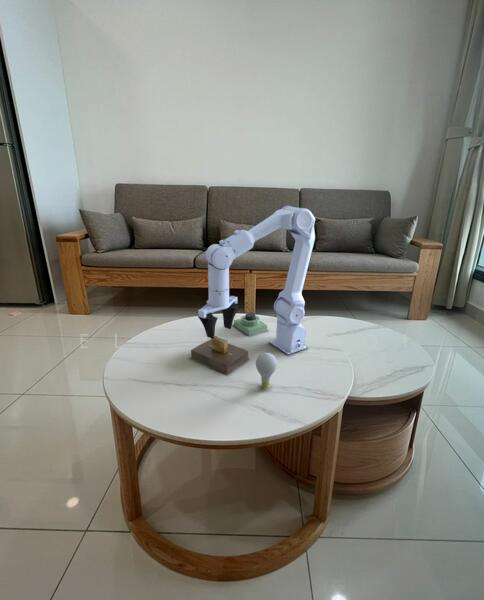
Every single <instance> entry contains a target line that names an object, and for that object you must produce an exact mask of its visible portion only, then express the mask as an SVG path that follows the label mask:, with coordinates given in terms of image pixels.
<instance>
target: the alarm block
mask: <svg viewBox="0 0 484 600" xmlns="http://www.w3.org/2000/svg"><path fill="white" fill-rule="evenodd" d="M233 326H234V327H235V328H237V330H239V331H241V332H243V333H244V334H245V335H246V336H248V337H249V336H254V335H257V334H260V333H263V332H266V331H268V325H267V323H265V322H263V321H262V320H261V319H260V317H259V316H258V315H257V314H255V320H253V321H249V320H246V314H245V315H242V316H241V318H237V319H233Z"/></svg>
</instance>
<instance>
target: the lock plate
mask: <svg viewBox="0 0 484 600" xmlns="http://www.w3.org/2000/svg"><path fill="white" fill-rule="evenodd" d="M190 353H191V354H190V356H191V359H192V360H193V361H196V362H198V363H201V364H203V365H205V366H207V367H209V368H212V369H214V370H217V371H218V372H221V373H223V374H225V375H228V374H230V373H232V372H233V371H234V370H235V369H237V368H238V367H240V366H241V365H242V364H244V363H245V362H247V361H248V360H249V350H247V349H244V348H242V347H239V346H236V345H234V344H231V343H229V342H228V352H226V353H225V354H224V353H221V352H219V351H216V350H214V349H212V341H211V338H210V339H208V340H206V341H205V342H203V343H201V344H199V345H197V346H196V347H194V348H191V349H190Z"/></svg>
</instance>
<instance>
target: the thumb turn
mask: <svg viewBox="0 0 484 600" xmlns="http://www.w3.org/2000/svg"><path fill="white" fill-rule="evenodd" d="M210 339H211V341H212V349H214V350H216V351H219V352H221V353H224V354H225V353H226V352H228V343H229V341H228V340H226V339H223V338H222V337H218V336H217V335H214V338H213V339H212V338H210Z"/></svg>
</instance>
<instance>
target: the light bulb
mask: <svg viewBox="0 0 484 600" xmlns="http://www.w3.org/2000/svg"><path fill="white" fill-rule="evenodd" d="M277 367H278V361H277V358H276V356H275V355H274V354H272V353H271V352H263V353H261V354H259V355H258V356H257V358H256V360H255V369H256V370H257V372H258V373H259V375H260V377H261V379H260V380H261V388H263V389H268V388H269V387H270V386H271V385H270V381H271V377H272V375H273V374H274V373H275V372H276V370H277Z"/></svg>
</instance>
